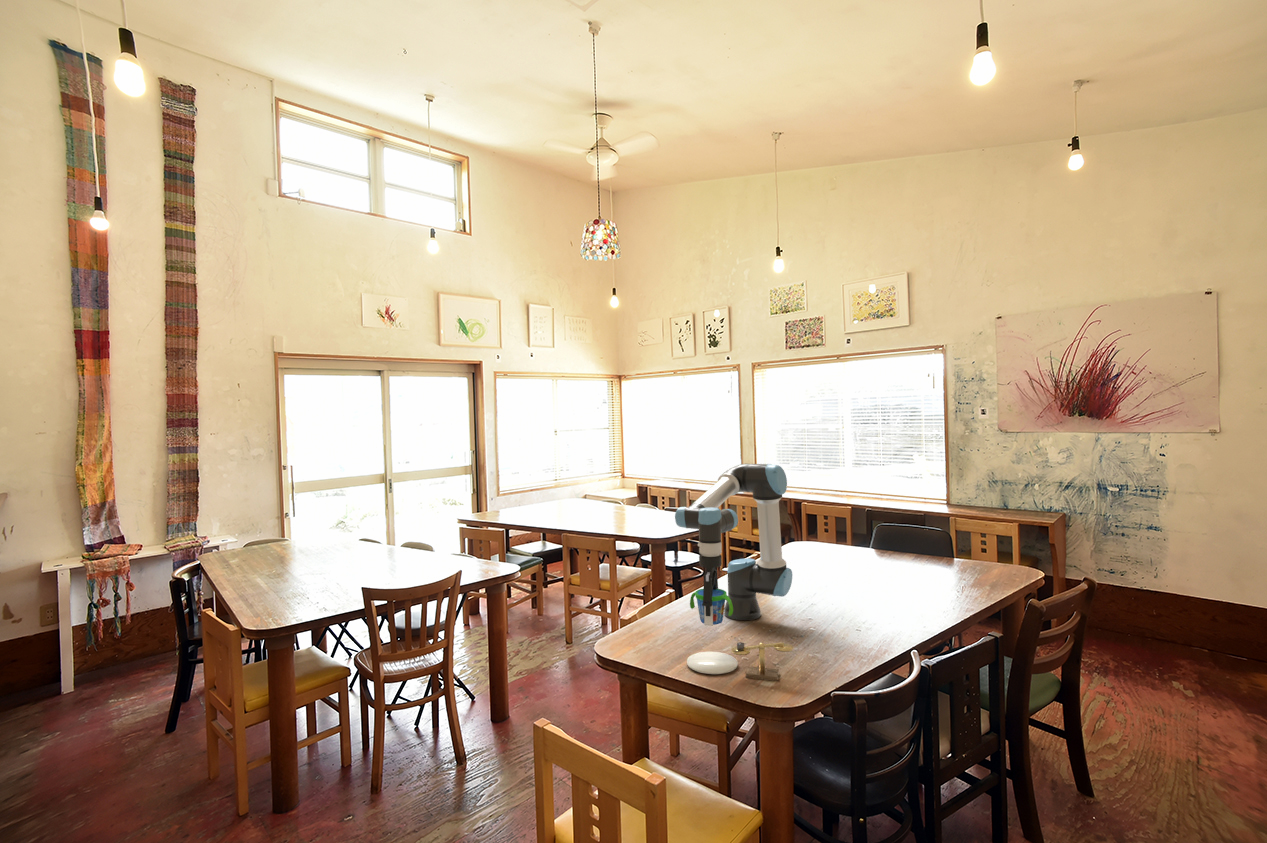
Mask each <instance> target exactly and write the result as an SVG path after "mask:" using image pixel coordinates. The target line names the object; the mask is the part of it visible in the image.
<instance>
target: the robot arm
mask: <svg viewBox="0 0 1267 843" xmlns="http://www.w3.org/2000/svg"><path fill="white" fill-rule="evenodd" d="M787 487H788V479H787V476H786V472H785V470H784V469H783V467H782V466H781V465H778V464H771V463H741V464H737V465H735V466H733V467H731V468H729V469H727V470H726V471H724V472H723V473H722V474H721V475H720V476H718V479H717V481H716V482H715V483H714V484H713V485H712V486H711V487H709V489H707V490H706V491H705V492H704V493H703V494H702V495H701V496H699V497H698V498H697V499H696V500H695V501H694V502H693V503H691V504H690V505H689V506H688V507H687V506H679V507H678V508H677V509H676V511H675V514H674V519H675V524H676V526H678V527H679V528H682V529H683V528H685V529H690V530H692V529H693V530H698V543H697V544H696V545H697V547H699V548H698V553H699V556H698V558H699V559H698V560H699V561H698V562H699V563H698V564H699V566H700V567H702V568H704V569H705V571H704V572H703V575H702V576H703V589H704V590H703V604H702V606H704V623H703V624H704V626H710V627H713V626H714V625H713V605H712V595H713V590H716V589H719V582H718V580H719V579H718V568H720V567H721V566H722V562H723V561H722V552H723V551H722V548H723V547H722V534H723V533H727V532H730V531H732V530H733V529H735V528H736V527H737V526H738V524H739V517H738V514H737V512H736V511H734V510H733V509H731V508H722V509H720V508H719V507H721V505H723V504H724V502H726V501H727V500H728V499H729V498H730V497H731V496H735V495H736V494H738V493H752V499H753V500H754V501H755V502H756V508H757V510H756V511H757V522H758V538H759V553H760V554H759V555H760V559H758V560H757V562H756V559H755V558H749V557H748V558H739V559H733V560H731V561H729V563H728V564H727V571H726V573H727V596H728V597H729V598H730V599H731V602H732V605H733V613H732V615H731V616H729V615H728V614H729V605H728V601H726V600H725V606H724V615H723V616H726V618H727V619H728V618H729V619H731V620H737V621H753V620H756V619H759V618H760V617H761V615H762V614H761V607H760V604H759V602H758V598H757V594H761V595H767V596H773V597H786V595H787V594H789V592H790V589H791V587H792V584H793V583H792V582H793V571H792V569H791V568H789V567H787V561H786V560H785V559H783V554H782V553H783V551H782V550H783V549H782V534H781V532H782V531H781V519H780V517H781V516H780V501H781V499H782V498H783V495H784V494H785V493H786V492H787Z"/></svg>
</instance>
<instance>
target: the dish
mask: <svg viewBox="0 0 1267 843" xmlns="http://www.w3.org/2000/svg"><path fill="white" fill-rule="evenodd" d="M738 663H739V662H738V660H737V659H736V657H734V656H733V655H730V654H728V653H724V652H721V651H720V652H719V651H700V652H695V653H694V654H691V655H690V656H688V657H687V660H686V664H687V666H688V668H689V669H691V670H692V671H695V672H698V673H701V674H707V675H721V674H727V673H731V672H733V671H735V670H736V669H737V668H738Z"/></svg>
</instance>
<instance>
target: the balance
mask: <svg viewBox="0 0 1267 843" xmlns="http://www.w3.org/2000/svg"><path fill="white" fill-rule="evenodd" d="M772 647H773V649H774V650H775V651H776V652H777V651H778V652H780V653H781V652H782V653H789V652H792V651H793V650H794V646H793V645H792V644H789V643H786V642H784V641H782V642H781V641H780V642H773V643H766V644H765V643H764V642H759V643H758V644H756V645H748V646H745V643H744V642H741V641H740V642H737V643H736V646H734V647H731V654H734V655H736V656H747V655H749V654H750V653H751V650H756V649H758V663H759V664H758V666H750V665H748V666H747V667H746V672H745V678H747V679H756V680H757V679H758V680H764V681H765V680H766V681H767V680H768V681H769V680H770V681H776V682H777V681H778V679H779V669H777V668H769V667H766V658H765V657H766V652H765V651H766V648H772Z"/></svg>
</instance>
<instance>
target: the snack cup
mask: <svg viewBox="0 0 1267 843" xmlns="http://www.w3.org/2000/svg"><path fill="white" fill-rule="evenodd" d="M703 590H704V588H700V589H697V590H695V591H694V592H692V594H691V596H690V600H689V608H690V609H692V610H693V609H695V607H696V606H695V600H694V598H696V603H697V610H698V614H699V615H698V616H699V619H700V622H701V623H702V624H704V606H702V604H703ZM726 601H728V605H729V614H728V615H729V616H731V615H732V613H733V605H732V602H731V599H730V598H729V597H728V593H727V591H726V590H724V589H722V588H718V589H716V590H713V595H712V605H713V626H714V625H719V624H722V623H723V620H724V616H725V615H724V608H725V605H726Z"/></svg>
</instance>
